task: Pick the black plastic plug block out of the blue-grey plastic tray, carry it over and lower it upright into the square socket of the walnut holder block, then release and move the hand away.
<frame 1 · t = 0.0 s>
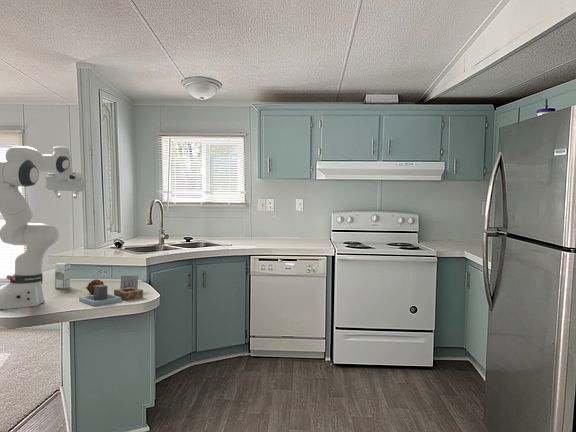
hand: (67, 197, 234), 52 cm above the table, tool tilted 20°, fingers open, 8 cm apart
holder: (128, 297, 218), on the table
plug: (100, 293, 207), in the tray
electrical switch: (128, 291, 232), on the table
syrup box: (62, 288, 233), on the table
tray: (100, 301, 207), on the table
brown rounded piece: (95, 293, 223), on the table
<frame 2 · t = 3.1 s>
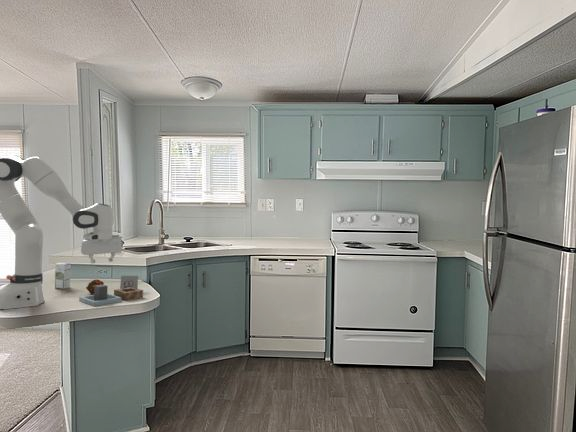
hand: (102, 262, 207), 20 cm above the table, tool pointing down, fingers open, 8 cm apart
nothing on the table moved.
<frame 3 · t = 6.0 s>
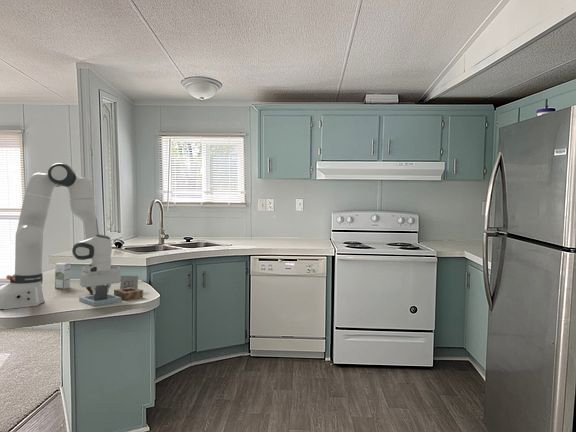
hand: (100, 293, 207), 4 cm above the table, tool pointing down, fingers closed on plug, 4 cm apart
plug: (100, 293, 207), in the tray, touching gripper
everything else where it was.
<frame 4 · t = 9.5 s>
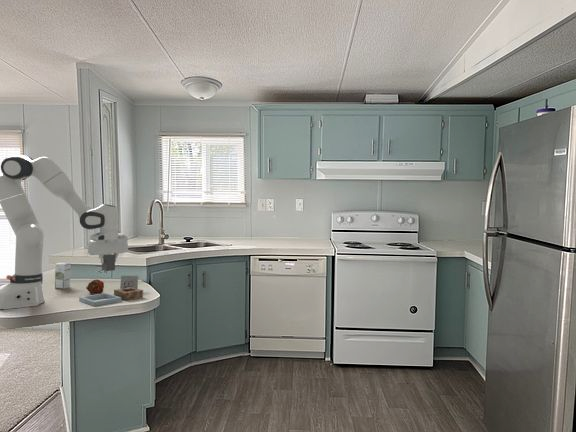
hand: (108, 262, 209), 20 cm above the table, tool pointing down, fingers closed on plug, 4 cm apart
plug: (108, 262, 209), point 20 cm above the table, touching gripper
everything else where it was.
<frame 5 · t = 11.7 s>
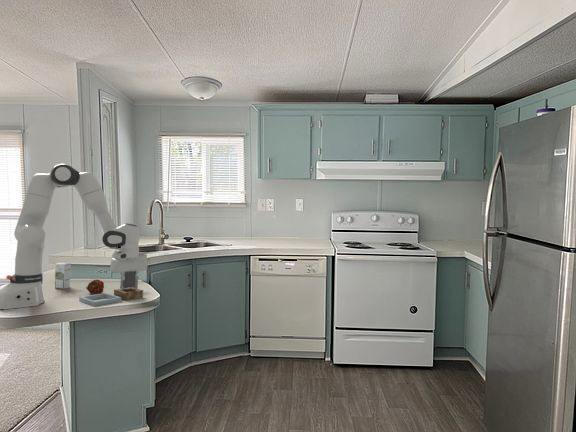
hand: (129, 279, 218), 10 cm above the table, tool pointing down, fingers closed on plug, 4 cm apart
plug: (129, 279, 218), point 10 cm above the table, touching gripper
everything else where it was.
when the fingers open (5 cm above the table, at t = 13.3 s): plug drops 2 cm, resting in holder.
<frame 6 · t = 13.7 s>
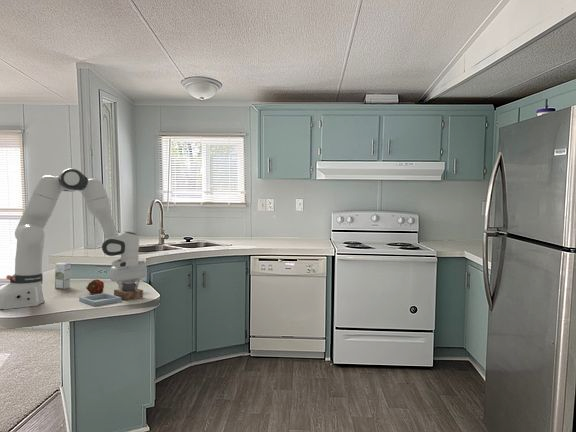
hand: (128, 287, 218), 5 cm above the table, tool pointing down, fingers open, 8 cm apart
plug: (128, 290, 218), in the holder
everything else where it was.
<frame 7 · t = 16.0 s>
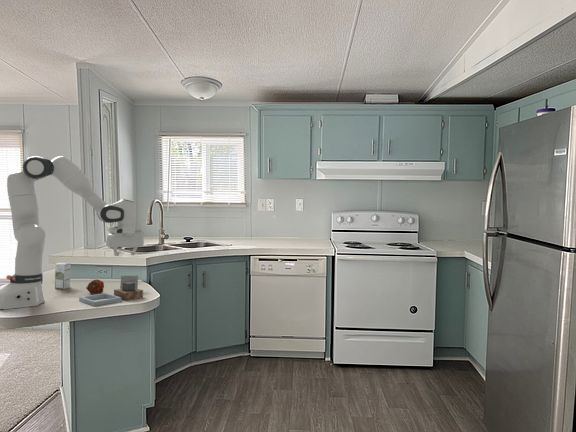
hand: (124, 255, 217), 23 cm above the table, tool pointing down, fingers open, 8 cm apart
nothing on the table moved.
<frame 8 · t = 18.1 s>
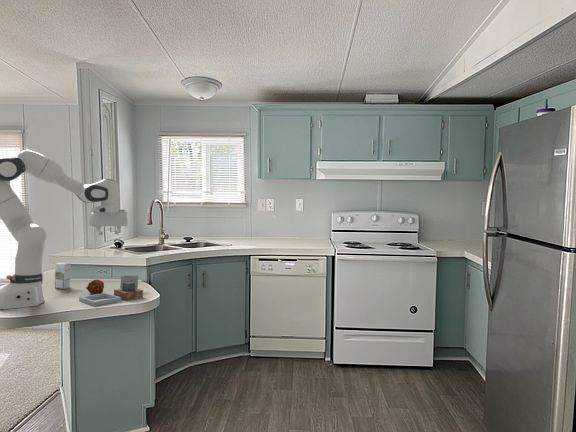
hand: (108, 234, 220), 33 cm above the table, tool pointing down, fingers open, 8 cm apart
nothing on the table moved.
at the end: plug 0.1 cm off-centre on the holder, point 3.9 cm above the holder's base; plug tilted 0°; the gripper is holding nothing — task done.
